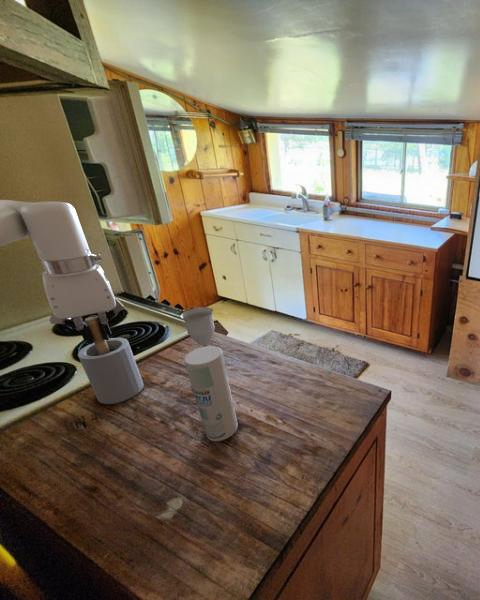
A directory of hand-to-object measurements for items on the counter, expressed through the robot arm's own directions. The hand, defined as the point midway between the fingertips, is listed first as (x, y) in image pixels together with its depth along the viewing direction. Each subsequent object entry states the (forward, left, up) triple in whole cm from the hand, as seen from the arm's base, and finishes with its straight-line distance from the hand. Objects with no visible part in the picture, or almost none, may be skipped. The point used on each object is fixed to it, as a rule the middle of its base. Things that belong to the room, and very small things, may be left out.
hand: (99, 339), depth 75 cm
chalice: (+19, +6, -16) cm, 25 cm away
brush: (0, 0, -12) cm, 12 cm away
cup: (0, 0, -15) cm, 15 cm away
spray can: (+28, -17, -16) cm, 36 cm away
